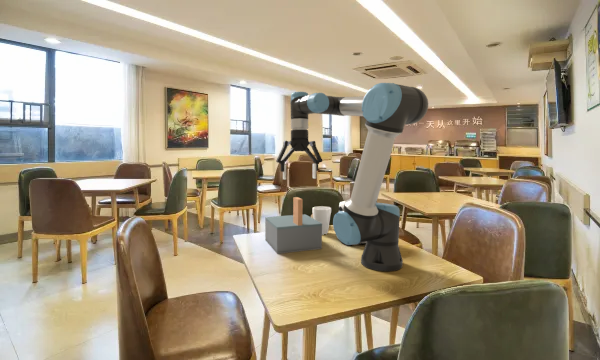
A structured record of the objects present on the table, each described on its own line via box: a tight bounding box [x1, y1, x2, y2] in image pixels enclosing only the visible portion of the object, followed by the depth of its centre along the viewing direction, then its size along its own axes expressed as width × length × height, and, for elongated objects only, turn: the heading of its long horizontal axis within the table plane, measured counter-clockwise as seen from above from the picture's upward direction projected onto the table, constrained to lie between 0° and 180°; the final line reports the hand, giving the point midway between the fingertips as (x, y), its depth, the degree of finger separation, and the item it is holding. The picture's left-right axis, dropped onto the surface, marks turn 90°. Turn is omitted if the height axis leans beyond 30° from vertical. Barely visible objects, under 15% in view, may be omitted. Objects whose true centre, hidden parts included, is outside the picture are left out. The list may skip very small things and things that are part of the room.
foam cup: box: [312, 205, 332, 236], centre depth 163 cm, size 10×9×13 cm
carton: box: [264, 219, 323, 254], centre depth 145 cm, size 20×20×10 cm
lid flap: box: [265, 196, 322, 230], centre depth 143 cm, size 20×20×12 cm
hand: (299, 179), depth 140 cm, fingers open, 13 cm apart
